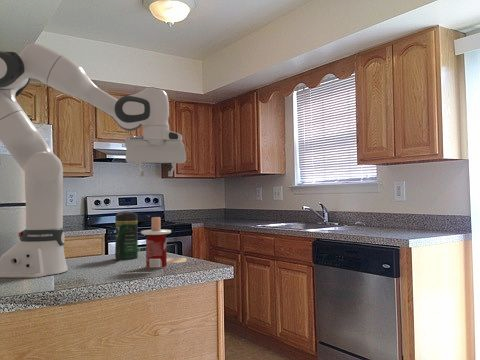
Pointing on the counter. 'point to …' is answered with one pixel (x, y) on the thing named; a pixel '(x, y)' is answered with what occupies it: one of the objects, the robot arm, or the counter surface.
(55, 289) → the counter surface
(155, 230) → the lid
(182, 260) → the mat
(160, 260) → the soda can
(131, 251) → the coffee jar
